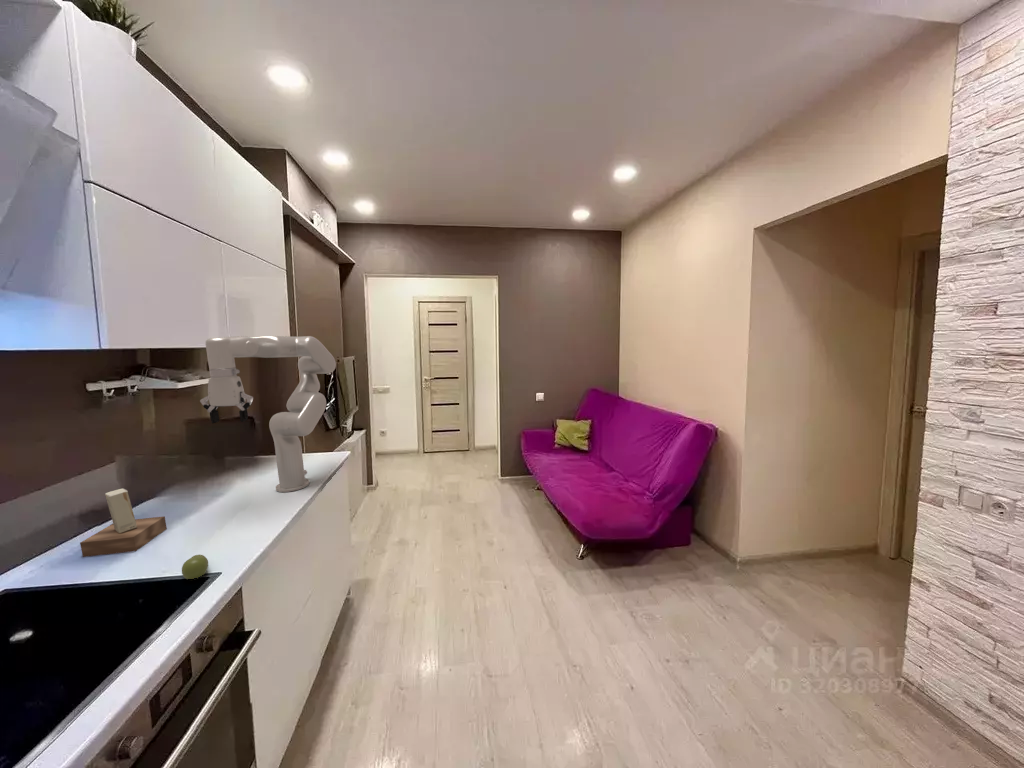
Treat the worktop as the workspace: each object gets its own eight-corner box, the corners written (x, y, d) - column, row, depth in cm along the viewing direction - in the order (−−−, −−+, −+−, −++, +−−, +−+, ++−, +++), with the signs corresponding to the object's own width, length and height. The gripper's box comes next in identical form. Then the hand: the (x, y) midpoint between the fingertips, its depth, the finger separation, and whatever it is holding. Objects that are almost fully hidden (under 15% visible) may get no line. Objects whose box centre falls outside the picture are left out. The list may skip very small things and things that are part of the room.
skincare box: (137, 527, 128) (128, 491, 126) (119, 534, 125) (109, 496, 123) (132, 522, 132) (123, 487, 130) (114, 529, 129) (104, 492, 127)
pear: (178, 565, 104) (184, 554, 113) (181, 585, 104) (186, 573, 113) (205, 557, 107) (209, 547, 116) (208, 577, 107) (211, 566, 116)
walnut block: (119, 535, 135) (117, 521, 134) (167, 530, 137) (164, 516, 136) (83, 558, 121) (80, 542, 121) (136, 552, 123) (133, 536, 123)
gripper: (255, 371, 146) (261, 418, 148) (204, 373, 145) (211, 420, 147) (242, 373, 139) (249, 422, 141) (189, 376, 137) (197, 425, 140)
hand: (230, 421), depth 144 cm, fingers open, 9 cm apart
